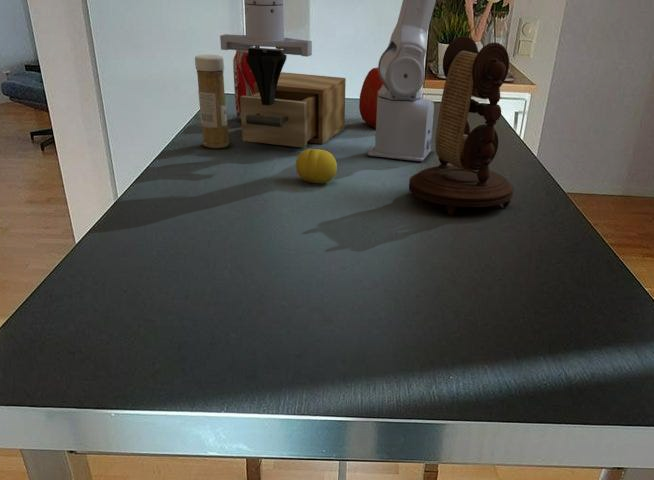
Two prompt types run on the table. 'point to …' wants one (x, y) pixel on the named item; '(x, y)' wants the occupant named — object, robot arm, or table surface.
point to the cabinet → (319, 100)
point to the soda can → (242, 79)
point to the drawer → (280, 119)
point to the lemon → (316, 166)
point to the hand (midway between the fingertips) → (268, 104)
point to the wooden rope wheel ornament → (467, 130)
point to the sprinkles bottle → (212, 100)
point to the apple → (370, 97)
